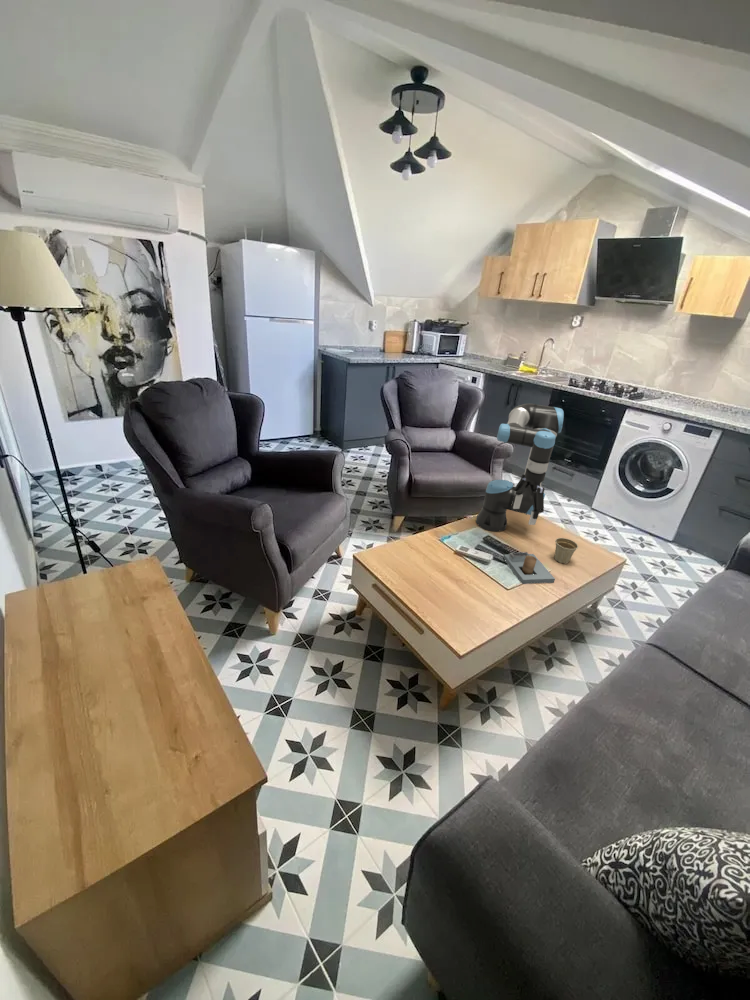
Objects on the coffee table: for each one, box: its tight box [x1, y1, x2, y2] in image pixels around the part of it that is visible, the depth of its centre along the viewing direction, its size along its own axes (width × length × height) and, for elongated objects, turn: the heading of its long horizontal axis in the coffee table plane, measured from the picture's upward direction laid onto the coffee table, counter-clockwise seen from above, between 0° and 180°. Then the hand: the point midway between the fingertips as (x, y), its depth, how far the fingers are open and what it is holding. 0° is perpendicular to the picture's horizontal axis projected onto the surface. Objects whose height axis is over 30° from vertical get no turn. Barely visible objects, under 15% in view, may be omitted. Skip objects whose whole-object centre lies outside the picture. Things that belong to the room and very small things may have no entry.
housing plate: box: [503, 553, 556, 585], centre depth 175 cm, size 18×14×2 cm
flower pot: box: [554, 537, 579, 564], centre depth 184 cm, size 9×9×9 cm
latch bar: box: [509, 551, 530, 562], centre depth 178 cm, size 3×8×3 cm, turn 99°
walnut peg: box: [521, 555, 538, 575], centre depth 171 cm, size 4×4×8 cm
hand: (523, 516), depth 176 cm, fingers open, 13 cm apart
